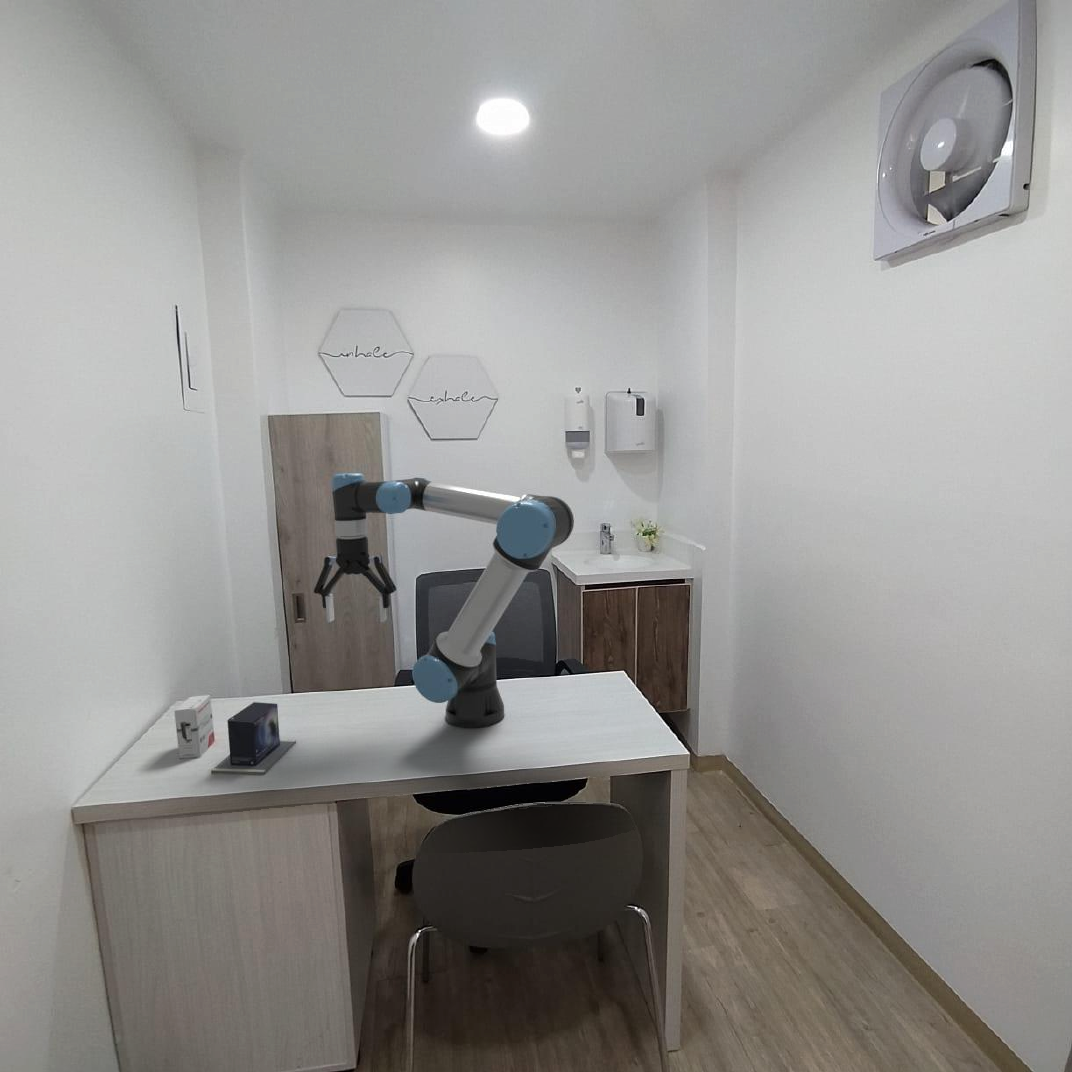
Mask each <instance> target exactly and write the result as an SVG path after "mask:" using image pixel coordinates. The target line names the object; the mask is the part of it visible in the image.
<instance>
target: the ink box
mask: <svg viewBox="0 0 1072 1072" xmlns="http://www.w3.org/2000/svg"><path fill="white" fill-rule="evenodd" d="M173 711H174V720H175V728H176V730H175V731H176V739H177V748H178V749H177V750H178V757H179V759H184V758H185V759H187V758H188V759H189V758H190V759H191V758H201V757H202V756H203V754H204V753H206V752H207V750H208V749H209V748H210V747H211V746H212V745H213V743H214V742H215V741H216V740H215V732H214V731H215V730H214V720H213V719H214V718H213V709H212V701H211V695H209V694H208V695H207V694H204V695H196V696H190V697H188V698H187V699H186V700H185V701H183V702H182V703H181V704H180V705H179V706H178V707H177V708H176V709H175V710H173Z"/></svg>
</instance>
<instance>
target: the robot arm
mask: <svg viewBox="0 0 1072 1072" xmlns="http://www.w3.org/2000/svg"><path fill="white" fill-rule="evenodd" d="M331 482H332V487H331V488H332V490H331V494H332V503H333V509H334V510H333V513H334V530H335V531H334V532H335V536H336V537H337V538H336V539H335V545H336V546H335V547H336V556H334V555H332V554H331V555H330V554H329V555H327V556H326V557H324V562H323V563H324V564H323V567H322V570H321V572H320V575H319V577H318V580H317V582H316V585H315V586H314V589H313V593H314V594H316V595H317V594H318V595H320V596H321V602H322V607H323V609H326V611H325V612H326V622H327V623H331V622H333V621H334V620H335V609H334V608H335V607H334V594H333V593H331V591H332V590H333V589H334V587H335V586H336V585H337V583H338V582H339V581H340V579H341V578H342V577H343V576H344V575H345V574H346V575H360V574H362V576H364V577H365V578H366V579H368V581H369V582H370V583H371V584H372V585H373V587H375V589H376V590H377V591H378V592H379V593H380V595H379V596H378V600H379V601H378V603H379V618H380V619H379V620H380V623H384V622H385V621H387V619H388V616H387V615H388V613H387V609H388V608H390V605H391V604H390V594H393V593H395V592H396V591H397V585H395V583H394V581H393V580H392V578H391V575H390V574H389V572H388V570H387V569H386V567H385V565H384V563H383V557H382V555H381V554H377V555H375V556H370V555H369V537H368V536H366V535H368V525H367V514H387V515H395V514H403V513H405V512H406V511H407V510H414V509H415V510H420V511H425V512H430V513H431V512H432V513H437V514H440V515H447V516H451V517H457V518H462V519H466V520H471V521H476V522H478V521H479V522H482V523H488V524H493V525H496V529H495V530H496V533H495V534H496V536H495V538H494V540H493V542H492V547H493V551H494V554H493V555H492V556H491V558H490V560H489V561H488V563H487V565H486V567H485V568H484V570H483V572H482V574H481V575H480V577H479V579H478V580H477V582H476V584H475V585H474V587H473V589H472V590H471V592H470V593H469V595H468V597H467V599H466V601H465V602H464V604H463V606H462V607H461V609H460V611H459V612H458V613H457V617H455V619H454V621H453V622H452V625H451V626H450V628H449V629H448V631H443V632H440V633H439V634H438V636H437V637H436V639H435V640H434V642H433V644H432V646H431V647H430V649H429V650H428V652H427V653H426V654H425V655H424V654H423V655H422V656H420V657H419V658H418V659H417V660H416V662H415V663H414V665H413V667H412V680H413V681H414V686H415V688H416V690H417V691H418V692H419V694H420V695H421V696H422V697H423V698H424V699H426V700H427V701H429V702H432V703H434V704H441V703H446V702H447V703H446V706H445V719H446V721H447V722H448V723H449V724H450V725H453V726H455V727H460V728H473V729H474V728H482V727H486V726H487V727H488V726H491V725H493V724H496V723H499V722H500V721H501V720H502V719H503V718H504V717H505V705H504V701H503V699H502V697H501V694H500V691H499V688H498V684H497V680H498V679H497V649H496V648H497V643H496V634H495V632H494V631H493V630H494V629H495V627H496V626H497V624H498V622H499V621H500V620H501V617H502V615H503V614H504V613H505V611H506V609H507V608H508V606H509V604H510V603H511V601H512V599H513V598H514V597H515V595H516V594H517V591H518V590H519V588H520V587H521V585H522V583H523V582H524V581H525V579H526V577H527V575H528V574H529V573H531V572H532V573H533V572H537V571H538V570H539V569H540V567H541V566H542V564H543V563H544V561H545V560H546V559H547V556H548V555H549V553H550V552H551V550H552V549H553V548H556V547H558V546H560V545H562V544H563V543H564V542H566V541H568V539H569V538H570V536H571V534H572V532H573V530H574V526H575V518H574V514H573V512H572V509H571V507H570V506H569V505H568V504H567V502H565V501H564V500H563V499H561V498H559V497H557V496H556V497H555V496H551V495H538V494H537V495H536V494H530V493H526V494H524V495H523V496H516V495H511V494H505V493H499V492H493V491H487V490H481V489H476V488H470V487H465V486H459V485H454V484H453V485H452V484H447V483H442V482H441V483H440V482H436V481H435V482H434V481H431V480H430V479H428V478H423V477H413V478H407V479H397V480H387V481H385V480H384V481H366V480H365V477H364V474H363V473H356V472H355V473H353V472H351V473H350V472H349V473H348V472H347V473H337V474H333V477H332V481H331ZM370 563H372V565H373V566H375V569H376V571H377V573H378V575H379V576H380V578H381V579H380V578H379V577H378V576H377V574H375V573H374V572H373V569H372V568H371V567H370V566H369V565H370ZM335 564H337V566H338V567H339V568H338V569H337V570H336V571H335V573H334V575H332V576H333V577H331V579H330V580H329V581H328V583H327V584H326V582H327V580H328V577H329V575H330V573H331V571H332V568H333V566H334V565H335Z"/></svg>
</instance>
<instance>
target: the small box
mask: <svg viewBox="0 0 1072 1072" xmlns="http://www.w3.org/2000/svg"><path fill="white" fill-rule="evenodd" d="M226 721H227V732H228V743H229V747H228V748H229V755H230V764H231V765H247V766H256V765H257V764H258V763H259V762H260V761H262V760H263V759H264V758H265V757H266V756H267V755H269V754H270V753H271V752H272V751H273V750H275V749H276V748H277V747H278V746H280V740H281V739H280V738H281V737H280V725H279V711H278V703H271V702H270V703H269V702H258V701H257V702H255V701H253V702H252V703H251V704H249V705H248V706H246V707H244V708H243V709H242V710H240V711H239V712H237V713H236V714H234V715H233V716H231V717H229V718H228V719H227V720H226Z"/></svg>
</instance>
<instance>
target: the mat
mask: <svg viewBox="0 0 1072 1072" xmlns="http://www.w3.org/2000/svg"><path fill="white" fill-rule="evenodd" d="M296 743H297V740H296V739H280V746H278V747H277V748H276V749H275V750H273V751H272V752H271V753H270V754H269V755H267V756H266V757H265V758H264V759H263V760H262V761H260V762H259V763H258V764H257V765H256V766H247V765H231V764H230V754H229V755H228V756H226V757H225V758H224V759H223V760H222V761H220V763H218V764H217V765H216V766H214V767H213V768H212V769H211V770H210V773H211V774H224V775H229V774H231V775H252V776H253V775H255V776H256V775H258V776H260V775H261V776H264V775H266V773H267V772H269V770H271V768H272V767H273V766H275V764H277V762H279V760H280V759H282V757H284V756H285V754H286V753H287V752H289V750H291V748H293V746H294V745H296Z"/></svg>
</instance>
